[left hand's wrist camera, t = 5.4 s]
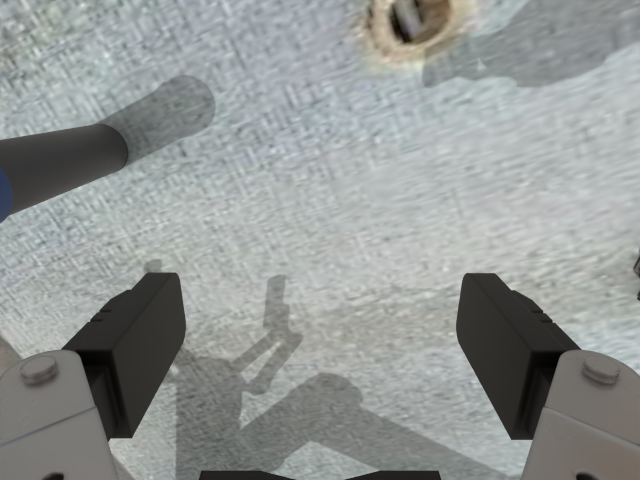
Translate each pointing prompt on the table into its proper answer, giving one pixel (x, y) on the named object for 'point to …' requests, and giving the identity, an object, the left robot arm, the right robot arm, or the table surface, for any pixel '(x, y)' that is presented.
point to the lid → (5, 196)
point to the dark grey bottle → (59, 161)
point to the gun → (638, 274)
